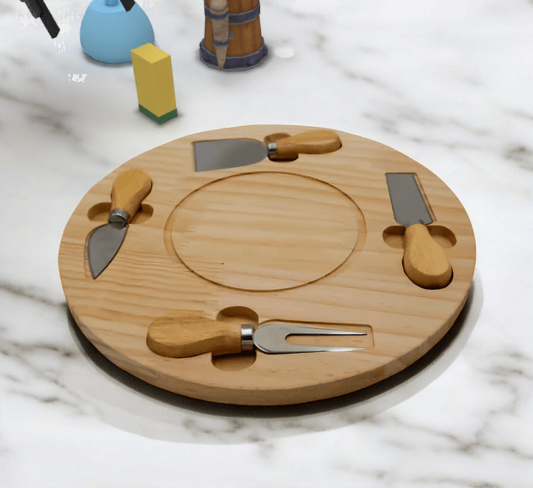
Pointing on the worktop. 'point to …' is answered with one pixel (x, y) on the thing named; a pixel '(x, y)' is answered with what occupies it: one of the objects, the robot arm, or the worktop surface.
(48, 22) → the robot arm
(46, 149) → the worktop surface
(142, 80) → the sponge
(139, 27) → the sugar bowl
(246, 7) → the mug
